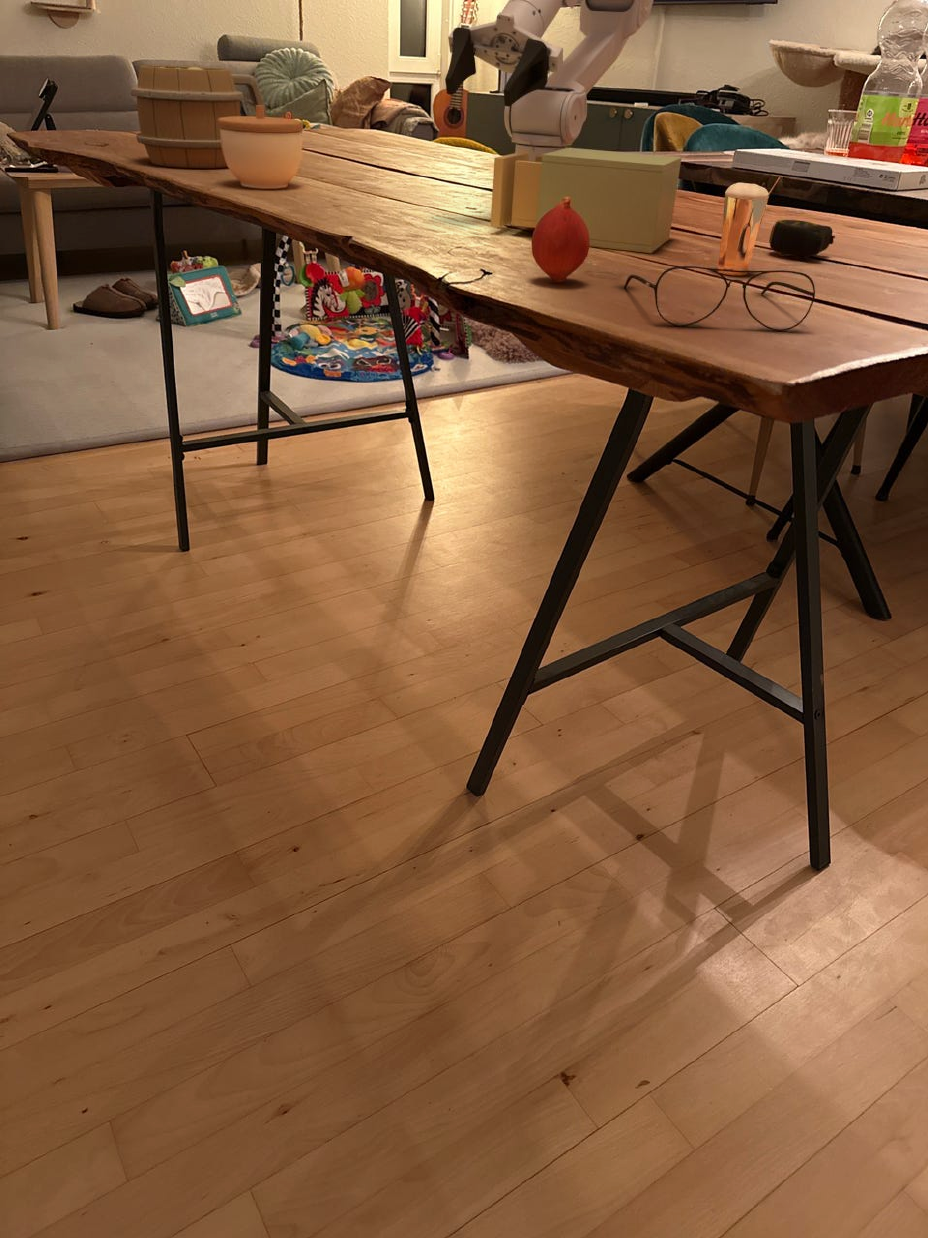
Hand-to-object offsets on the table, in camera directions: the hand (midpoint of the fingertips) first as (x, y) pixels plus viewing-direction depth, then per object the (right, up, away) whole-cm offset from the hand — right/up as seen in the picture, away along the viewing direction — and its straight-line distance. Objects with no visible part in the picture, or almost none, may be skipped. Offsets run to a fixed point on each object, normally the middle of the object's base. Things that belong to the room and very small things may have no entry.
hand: (477, 92), depth 111 cm
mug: (-47, +19, +56) cm, 76 cm away
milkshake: (+29, -25, -8) cm, 39 cm away
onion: (+8, -29, -16) cm, 34 cm away
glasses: (+22, -34, -23) cm, 46 cm away
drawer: (+9, -12, +8) cm, 18 cm away
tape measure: (+40, -19, +3) cm, 44 cm away
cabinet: (+16, -15, +7) cm, 23 cm away
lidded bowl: (-33, +5, +35) cm, 48 cm away
